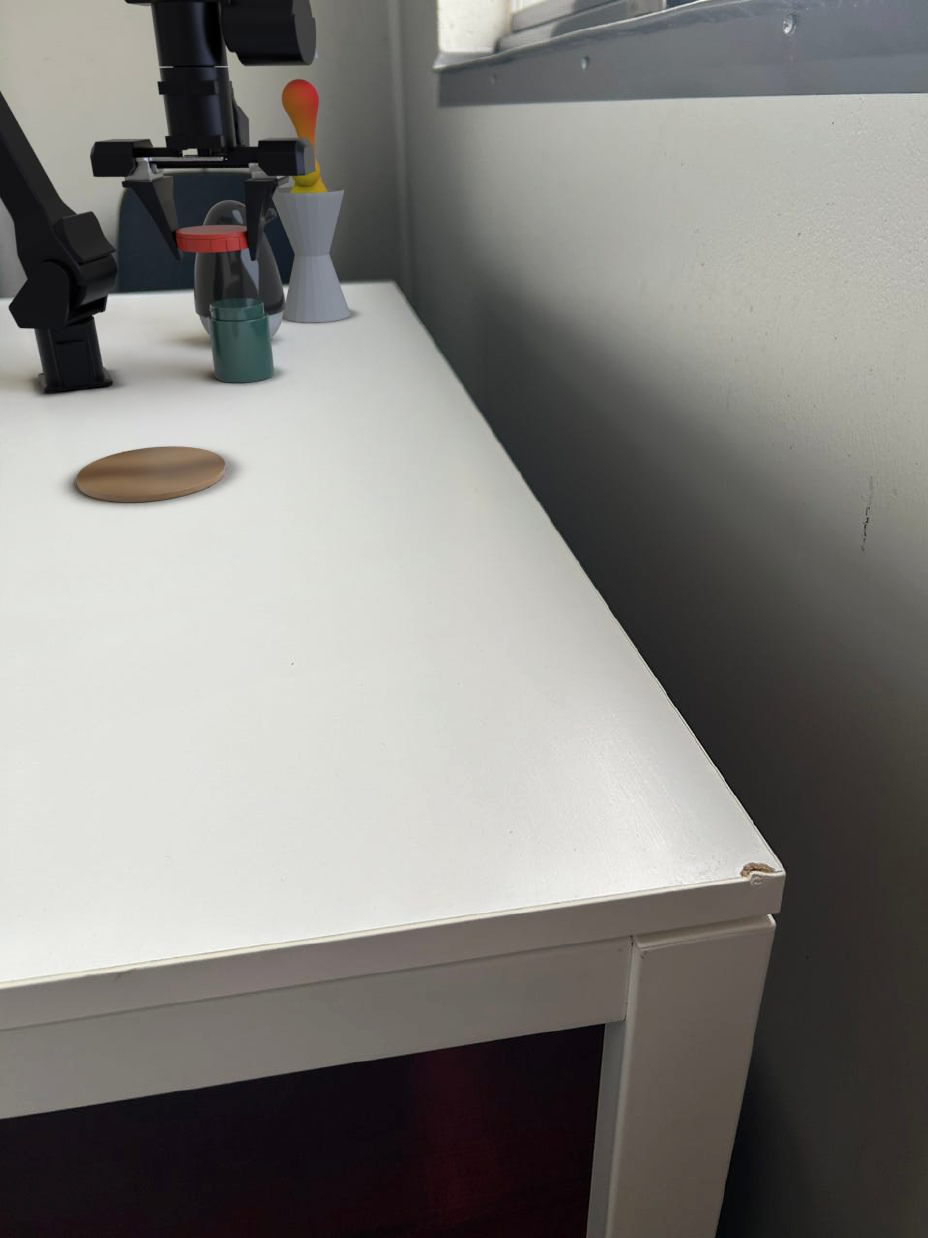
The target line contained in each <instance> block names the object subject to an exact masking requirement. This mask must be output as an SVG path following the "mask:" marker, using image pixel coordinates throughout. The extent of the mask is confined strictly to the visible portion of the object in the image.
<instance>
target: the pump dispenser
mask: <svg viewBox="0 0 928 1238" xmlns="http://www.w3.org/2000/svg"><path fill="white" fill-rule="evenodd" d="M276 218H277V212H276V210H275V209H274V208H272V207H271V208H269V209H268V212H267V216H266V221H265V225H266V224H268V223H270V222H272V221H273V220H275V219H276ZM207 225H239V226H246V210H245V203H242V202H240V201H237V200H232V199H231V200H230V199H228V200H223V201H219V202H218V203H216V204H215V205H213V206H212V207H211V208H210V209H209V211H208V213H207V214H206V217H205V219H204V221H203V225H202V226H207ZM246 227H247V226H246ZM275 257H276V256H275V255H274V252H273V249H272V247H271V245H270V242H269V239H268V237H267V235H266V233H265V231H264V230H263V235H262V240H261V245H260V249H259V254H258V258H257V260H256V261H251V259H250V254H249V248H247V249H243V250H236V251H228V252H206V253H204V252H195V262H194V271H193V304H194V310H195V313H196V315H198V316H199V320H200V322H201V324H202V327H203V328H204V331H206V333H207V334H208V335H209V336H210V333H209V325H208V316H209V315H211V311H210V310H209V309H210V304H211V303H213V302H215V301H219V300H224V299H234V298H251V299H258V300H261V301H263V305H264V312H266V313H268V315H269V324H270V334H271V339H272V338H273V337H274V336H275V335H276V334H277V332H278V331H279V329H280V327H281V325H282V321H283V313H284V310H285V308H286V305H285V303H286V296H285V292H284V287H283V281H282V277H281V274H280V270H279V267H278V264H277V263H278V262H277V261H276V260H277V259H276V258H275Z"/></svg>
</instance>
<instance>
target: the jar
mask: <svg viewBox="0 0 928 1238" xmlns="http://www.w3.org/2000/svg"><path fill="white" fill-rule="evenodd" d="M209 310H210V311H211V315H209V316H208V325H209V333H210V335H209V340H210V348H211V356H212V363H213V371H214V377H215V379H216V380H218V381H220V382H224V383H233V384H235V383H236V384H240V383H241V384H243V383H254V382H261V381H263V380H264V381H265V380H267V379H270V378H272V377H273V376H274V375H275V366H274V355H273V345H272V338H271V334H270V324H269V315H268V313H266V312H264V305H263V301H261V300H258V299H251V298H234V299H224V300H219V301H215V302H213V303H211V304H210V309H209Z"/></svg>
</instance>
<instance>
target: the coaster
mask: <svg viewBox="0 0 928 1238" xmlns="http://www.w3.org/2000/svg"><path fill="white" fill-rule="evenodd" d="M226 471H227V465H226V461H225V459H224V458H223V457H222V456H221V455H219V454H218V453H216V452H214V451H210V450H207V449H205V448H204V449H203V448H198V447H191V446H174V445H172V446H169V445H168V446H167V445H166V446H152V447H143V448H135V449H130V450H126V451H121V452H116V453H113V454H110V455H106V456H104V457H101V458H98V459H97V460H94V461H92V462H90V463H89V464H86V466H84V467H83V468H81V469H80V471H78V473H77V474H76V477H75V479H76V484H77V488H78V489H79V491H80V492H81V493H82V494H85V495H86V496H88V497H91V498H94V499H98V500H102V501H106V502H107V501H108V502H117V503H144V502H145V503H146V502H156V501H163V500H170V499H174V498H179V497H183V496H188V495H191V494H194V493H197V492H200V491H203V490H205V489H207V488H210V487H211V486H213V485H215V484H217V483H218V482H219V481H221V480H222V478H224V476H225V475H226Z"/></svg>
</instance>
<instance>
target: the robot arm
mask: <svg viewBox="0 0 928 1238" xmlns="http://www.w3.org/2000/svg"><path fill="white" fill-rule="evenodd" d="M124 2H125V3H126V4H127V5H128V4H129V5H134V6H142V7H150V10H151V19H152V26H153V32H154V39H155V46H156V54H157V62H158V67H159V68H158V69H159V76H160V77H159V78H160V80H158V81H156V82H157V83H156V84H157V90H158V91H157V92H158V95H159V96H162V99H163V105H164V112H165V120H166V121H165V122H166V126H167V134H168V135H164V140H165V146H154V145H153V143H152V140H151V139H150V138H111V139H105V140H97V141H94V143H93V145H92V147H91V149H90V152H89V153H90V154H89V159H90V165H91V171H92V176H93V178H124V180H122V181H121V187H122V188H123V189H131V190H132V191H133V192H134V194H135V195H136V196H137V198H138V199H139V201H140V202H141V203H142V205H143V206H144V207H145V209H146V210H147V212H148V214H149V215H150V216H151V218H152V220H153V222H154V223H155V226H157V228H158V230H159V232H160V234H161V235H162V238H163V240H164V241H165V243H166V245H167V247H168V249H169V250H170V252H171V254H172V255H173V257H174V259H175V260H176V262H182V261H184V251H182V250H179V249H178V245H177V240H176V230H179V229H180V225H179V219H178V215H177V209H176V205H175V201H174V176H173V175H164V172H165V170H172V169H173V170H174V169H175V170H179V169H181V170H182V169H183V170H185V169H188V170H190V169H192V170H193V169H194V170H195V169H196V170H197V169H198V170H200V169H207V170H208V169H248V170H249V171H248V172H249V173H251V178H249V179H246V180H244V181H243V192H244V193H243V194H244V205H245V210H246V226H247V241H248V248H249V254H250V259H251V261H256V260H257V258H258V254H259V249H260V245H261V240H262V235H263V231H264V230H265V226H266V224H265V221H266V216H267V212H268V209H270V206H271V203H272V201H273V199H272V198H273V195H274V193H275V191H276V189H277V188H280V186H284V185H285V184H288V183H289V182H290V177H292V176H305V175H307V174H310V173H312V172H314V171H316V167H315V157H316V153H315V154H314V148H313V145H312V143H311V142H310V141H309V140H308V139H307V138H298V137H268V138H263V139H259V140H258V141H257V145H251V144H250V118H249V117H248V116H247V114H246V113H245V112H244V110H243V109H242V107H240V106H239V105H238V103H237V100H236V98H235V92H234V91H235V89H234V87H233V81H232V80H230V73H229V71H230V70H229V67H228V66H229V62H228V54H227V51H228V52H229V53H231V54H235V55H236V57H237V59H238V61H239V62H240V63H241V65H243V66H244V67H301V66H302V67H305V66H306V67H307V66H311V65H312V64H313V63H314V61H315V59H314V57H315V51H316V49H317V23H316V22H317V21H316V18H315V17H313V11H312V6H311V2H310V0H124ZM1 91H2V90H0V201H1V203H2V204H3V206H4V208H5V209H6V211H7V213H8V215H9V216H10V219H11V220H12V223H13V230H14V231H13V232H14V240H15V247H16V256H17V259H18V261H19V264H20V266H21V268H22V270H23V273H24V275H25V278H26V281H25V282H24V283H23V284H22V286H21V287H20V289H19V290H18V292H17V293H16V294H15V296H14V297H13V299H12V300H11V301H10V303H9V304H8V306H7V307H8V311H9V313H10V315H11V316H12V318H13V320H14V322H15V324H16V325H17V327H18V328H19V329H23V330H24V329H29V330H33V331H34V336H35V341H36V346H37V349H38V350H37V351H38V355H39V360H40V364H41V368H42V372H40V373H38V374H37V376H38V380H39V382H40V385H41V387H42V390H43V393H56V392H64V391H73V390H81V389H88V388H89V389H90V388H98V387H105V386H112V385H114V380H113V377H112V376H111V374H110V373H109V371H108V370H107V368H106V367H105V366H104V363H103V358H102V353H101V348H100V342H99V335H98V331H97V325H96V320H95V315H97V314H99V313H100V314H101V313H102V314H103V313H104V312H106V310H107V304H108V297H109V294H110V293H111V292H112V291H113V289H114V287H115V286H116V281H117V276H118V274H119V271H118V265H117V262H116V260H115V257H114V256H113V254H115V253H117V248H116V247H114V245H112V244H111V243H110V241H109V239H107V237H106V235H105V233H104V231H103V228H102V226H101V223H100V221H99V219H98V217H97V216H96V214H95V213H94V212H93V210H90V211H85V212H81V213H77V212H75V210H73V209H72V207H70V206H69V205H68V204H66V203H65V202H64V200H63V199H62V198H61V196H60V195H59V193H58V192H57V190H56V188H55V186H54V184H53V182H52V180H51V179H50V177H49V175H48V173H47V172H46V169H44V166H43V165H42V162H41V161H40V159H39V156H38V155H37V154H36V152H35V150H34V148H33V146H32V145H31V143H30V141H29V139H28V137H27V136H26V134H25V132H24V130H23V129H22V126H21V125H20V123H19V122H18V120H17V118H16V115H15V114H14V113H13V111H12V109H11V107H10V105H9V103H8V102H7V99H6V98H5V97H4V94H3V93H2V92H1ZM188 150H196V153H197V154H183V153H184V151H188Z"/></svg>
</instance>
